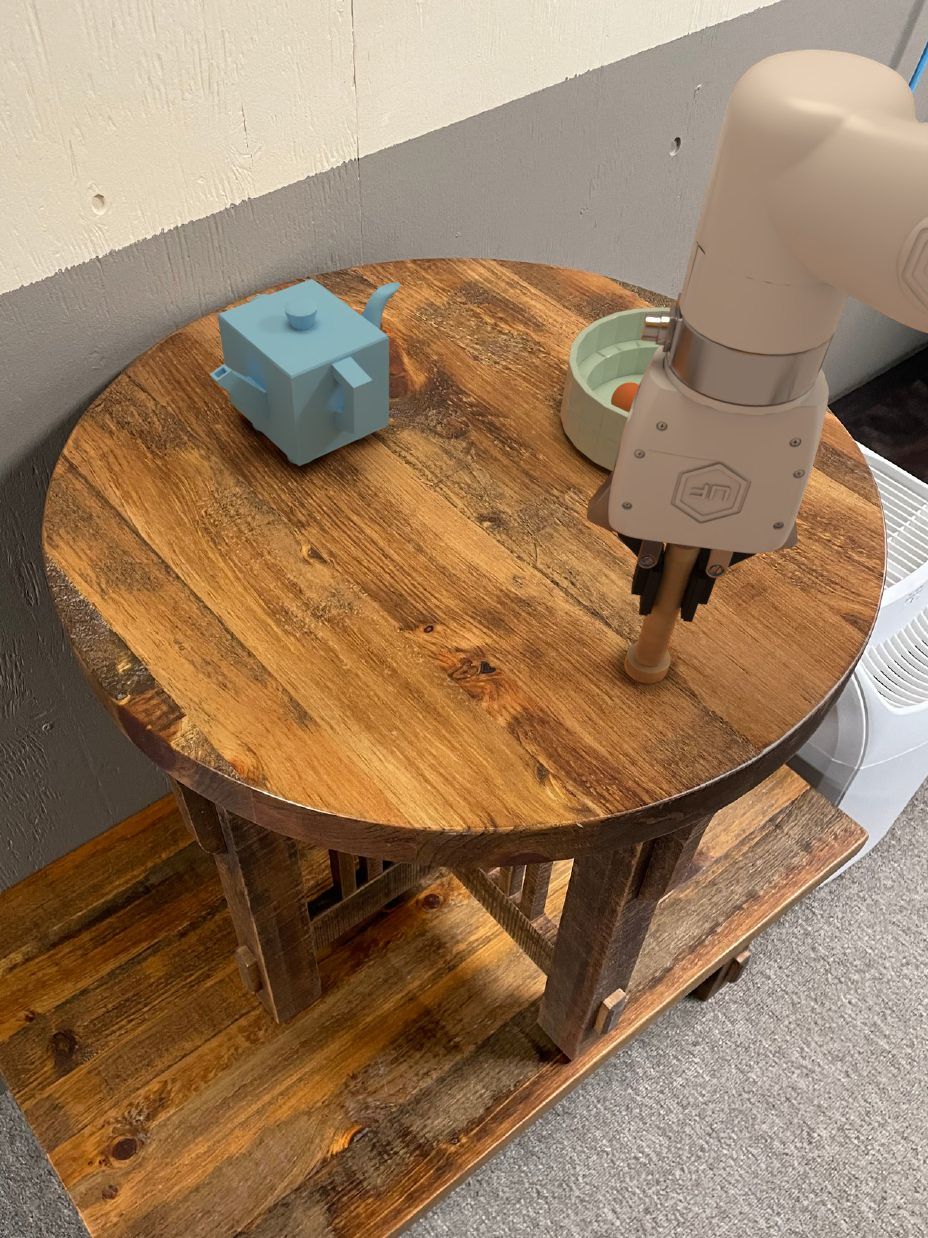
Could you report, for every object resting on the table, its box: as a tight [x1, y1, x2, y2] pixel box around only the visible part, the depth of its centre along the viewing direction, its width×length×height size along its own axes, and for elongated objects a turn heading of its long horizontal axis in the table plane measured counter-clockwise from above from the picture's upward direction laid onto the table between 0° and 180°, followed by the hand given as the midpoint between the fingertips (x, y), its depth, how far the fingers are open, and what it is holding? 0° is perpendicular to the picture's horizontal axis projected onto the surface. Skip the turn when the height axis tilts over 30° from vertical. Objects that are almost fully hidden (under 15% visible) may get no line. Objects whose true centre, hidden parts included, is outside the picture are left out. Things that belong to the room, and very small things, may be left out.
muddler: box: [623, 543, 701, 684], centre depth 65 cm, size 3×3×12 cm
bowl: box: [559, 306, 671, 472], centre depth 84 cm, size 17×17×6 cm
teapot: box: [209, 278, 401, 467], centre depth 82 cm, size 16×18×11 cm
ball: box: [611, 382, 639, 412], centre depth 85 cm, size 3×3×3 cm
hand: (666, 601), depth 64 cm, fingers closed on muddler, 2 cm apart
